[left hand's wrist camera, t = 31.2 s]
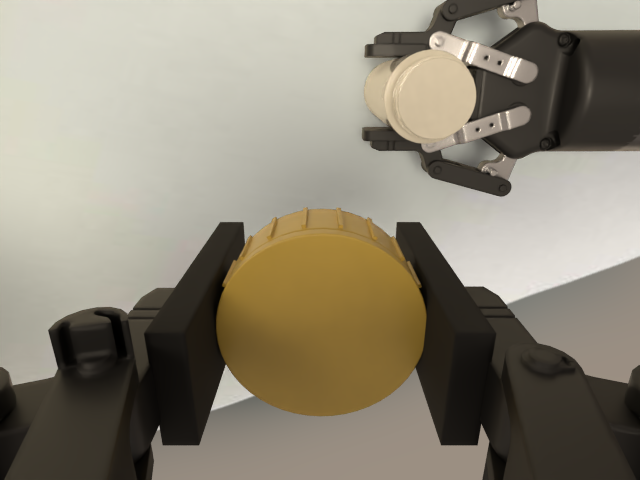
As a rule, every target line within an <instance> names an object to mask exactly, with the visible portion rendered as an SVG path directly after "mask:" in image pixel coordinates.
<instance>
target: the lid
mask: <svg viewBox="0 0 640 480" xmlns="http://www.w3.org/2000/svg"><path fill="white" fill-rule="evenodd" d="M222 286H223V287H225V288H224V290H223V292H222V295H221V298H220V301H219V304H218V308H217V315H216V334H217V341H218V345H219V348H220V351H221V354H222V357H223V359H224V361H225V363H226V365H227V366H228V368H229V370H230V371H231V373H232V374H233V375H234V377H235V378H236V379H237V380H238V381H239V382H240V384H241V385H243V386H244V387H245V388H246V389H247V390H248V391H249V392H250V393H252V394H253V395H255V396H256V397H258V398H259V399H261V400H262V401H264V402H266V403H268V404H270V405H272V406H274V407H277V408H279V409H282V410H285V411H289V412H292V413H297V414H302V415H309V416H334V415H341V414H347V413H351V412H355V411H358V410H361V409H364V408H366V407H369V406H371V405H373V404H375V403H377V402H379V401H381V400H382V399H384V398H385V397H387V396H389V395H390V394H391V393H393V392H394V391H395V390H396V389H397V388H399V387H400V386H401V385H402V384H403V383H404V381H405V380H406V379H407V378H408V377H409V376H410V374H411V373H412V371H413V370H414V369H415V367H416V365H417V363H418V361H419V359H420V358H421V355H422V352H423V347H424V337H425V327H426V316H427V311H426V307H425V303H424V299H423V296H422V294H421V292H420V289H419V288H421V287H422V286H421V283H420V281H419V279H418V277H417V275H416V273H415V271H414V269H413V267H412V265H411V263H410V261H408V262H406V259H405V257H404V255H403V253H402V251H401V249H400V247H399V245H398V243H397V241H396V239H395V237H394V236H393V237H390V236H389V235H388V234H386V233H385V232H384V231H383V230H382V229H381V228H379V227H378V226H376V225H375V224H373V222H372V220H371V219H370V218H367V220H366V219H364V218H362V217H360V216H357V215H354V214H351V213H349V212H344V211H341V208H337V209H336V210H331V209H310V210H308V208H307V207H306V208H303V211H299V212H295V213H292V214H289V215H286V216H283V217H281V218H279V219H277V218H276V217H275V218H273V219H272V222H271V223H270V224H268V225H267V226H265V227H264V228H262V229H261V230H260V231H259V232H258V233H256V234H255V235H254V236H253V237H252V236H251V235H250V236H249V237H248V239H247V242H246V244H245V246H244V248H243V250H242V252H241V254H240V256H239V258H238V260H237V261H235V260H234V261H233V263H232V265H231V267H230V269H229V271H228V273H227V276H226V278H225V280H224V282H223V284H222Z"/></svg>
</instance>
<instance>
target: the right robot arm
mask: <svg viewBox="0 0 640 480" xmlns="http://www.w3.org/2000/svg"><path fill="white" fill-rule="evenodd" d="M494 9H497V13H498V15H499V17H500V18H502V19H513V20H514V21H515V22H516V23H517V25H518V27H517V28H516V29H515V30H513V31H512V32H511V33H509V34H508V35H506V36H505V37H504V38H502V39H501V40H499V41H498V42H497V43H495V44H494V45H493V46H491V47H487V46H485V45H482V44H479V43H476V42H472V41H467V40H464V39H462V38H459V37H456V36H454V35H451V33H452V30H453V28H454V26H455V23H456V21H457V20H461V19H464V18H467V17H471V16H474V15H477V14H481V13H484V12H487V11H491V10H494ZM433 49H436V50H442V51H446V52H449V53H451V54H453V55H454V56H456V57H458V58H459V59H460V60H461V61H462V62H463V63H464V64H465V66H466V67H467V69H468V70H469V72H470V73H471V75H472V77H473V79H474V83H475V86H476V103H475V107H474V110H473V113H472V115H471V117H470V118H469V120H468V121H467V123H466V124H465V125H464V126H463V127H462V128H461V129H460V130H459V131H457V132H456V133H454V134H452V135H451V136H449V137H448V138H446V139H444V140H441V141H439V142H435V143H429V144H421V143H415V142H412V141H409V140H407V139H405V138H403V137H402V136H400V135H399V134H398V133H397V132H395V131H394V130H393V129H392V128H390V127H364V128H362V139H363V140H364V141H370V145H371V147H372V148H374V149H376V150H379V151H418V152H419V154H420V158H421V161H422V162H421V166H422V168H423V170H425V171H426V172H428V174H429V175H430V176H431V177H432V178H434V179H438V180H442V181H445V182H449V183H453V184H456V185H460V186H464V187H467V188H471V189H475V190H478V191H482V192H486V193H489V194H493V195H496V196H505V195H507V194H508V193H509V192H510V190H511V183H510V182H509V181H508V179H509V176H510V174H511V172H512V169H513V167H514V165H515V162H516V160H517V159H520V158H523V157H525V156H527V155H529V154H531V153H534V152H539V151H640V30H584V31H560V30H556V29H553V28H551V27H549V26H548V25H547V24H545V23H543V22H539V20H538V9H537V0H447V1H445V2H444V3H442V4H441V5H439V6H438V7H437V8H436V9H435V11H434V14H433V19H432V21H431V24H430V26H429V28H428V29H427V30H426V31H425V32H384V33H382V34H379V35H377V36H376V37H375V38H374V44H367V45H366V46H365V57H366V58H396V57H403V56H406V55H410V54H413V53H417V52H420V51H423V50H433ZM480 138H481V139H483V140H484V141H485V142H486V143H488V144H489V145H490V146H491V147H492V148H494V149H495V150H496V151H497V152H499V153H500V154H499V156H498V157H497V158H496V159H494V160H484V161H482V162H481V163H480V164H479V165H478V167H477V168H475V167H472V166H468V165H464V164H461V163H457V162H454V161H450V160H447V159H443V158H442V154H441V151H440V150H441V149H444V148H447V147H450V146H453V145H456V144H464V143H467V142H470V141H474V140H477V139H480Z"/></svg>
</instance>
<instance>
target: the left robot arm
mask: <svg viewBox="0 0 640 480" xmlns="http://www.w3.org/2000/svg"><path fill="white" fill-rule="evenodd" d="M396 241H397V243H398V245H399V247H400V249H401V251H402V253H403V255H404V257H405V259H406V262H408V261H410V263H411V265H412V267H413V269H414V271H415V273H416V275H417V277H418V279H419V281H420V283H421V286H422V287H421V288H419V289H420V292H421V294H422V296H423V299H424V303H425V307H426V311H427V316H426V327H425V337H424V347H423V352H422V355H421V358H420V359H419V361H418V363H417V365H416V370H417V373H418V376H419V379H420V382H421V385H422V388H423V392H424V394H425V398H426V401H427V404H428V407H429V410H430V413H431V416H432V419H433V422H434V425H435V428H436V431H437V434H438V437H439V440H440V443H441V445H478V439H479V433H480V428H481V424H482V426H483V428H484V430H485V432H486V434H487V437H488V439H489V447H488V452H487V458H486V463H485V469H484V474H483V480H640V365H639V366H637V367H636V368H635V369H633V370H632V373H631V376H630V380H629V383H628V384H627V383H622V382H617V381H612V380H607V379H601V378H596V377H592V376H588V375H585V374H584V372H583V370H582V368H581V367H580V365H579V364H578V363H577V362H576V360H575V359H573V358H572V357H570V356H569V355H567V354H566V353H564V352H563V351H560V350H558V349H555V348H553V347H551V346H547V345H542V344H538V343H537V342H536V341H535V340H534V338H533V337H532V336H531V335H530V333H529V332H528V331H527V330H526V329H525V327H524V326H523V325H522V324H521V322H520V321H519V320H518V319H517V318H515V315H514V314H513V313H512V312H511V310H510V309H508V308H507V305H506V304H505V303H504V302H503V301H502V299H501V298H500V297H499V296H498V295H496V294H495V293H493V292H491V291H490V290H488V289H486V288H485V287H464V285H463V284H462V283H461V281H460V280H459V278H458V277H457V275H456V274H455V272H454V271H453V270H452V268H451V267H450V265H449V264H448V262H447V261H446V259H445V258H444V256H443V255H442V254H441V252H440V251H439V249H438V248H437V246H436V245H435V243H434V242H433V241H432V239H431V238H430V236H429V235H428V233H427V232H426V230H425V229H424V228H423V226H422V225H421V223H420V222H397V228H396ZM244 246H245V239H244V224H243V222H220V224H219V225H218V226H217V228H216V229H215V231H214V232H213V234H212V235H211V237H210V238H209V240H208V241H207V242H206V244H205V245H204V247H203V248H202V250H201V251H200V253H199V254H198V255H197V257H196V258H195V260H194V261H193V263H192V264H191V266H190V267H189V268H188V270H187V271H186V273H185V274H184V276H183V277H182V279H181V280H180V282H179V283H178V284H177V286H176V287H175V288H156V289H155V290H153V291H151V292H150V293H148V294H146V295H145V296H143V297H142V298H141V299H140V300H139V301H138V303H137V304H136V305H135V306H134V308H133V310H131V311H130V312H129V314H128V315H127V313H125V312H124V311H123V310H121V309H117V308H113V307H97V308H92V309H86V310H82V311H79V312H76V313H73V314H71V315H68V316H66V317H64V318H63V319H61V320H59V321H57V322H56V323H55V324H54V325H53V326H52V327H51V328H50V329H49V330H48V331H49V335H50V339H51V343H52V347H53V350H54V354H55V358H56V362H57V366H58V370H57V372H56V374H55V376H54V377H52V378H48V379H43V380H38V381H33V382H28V383H23V384H18V385H12V382H11V379H10V375H9V372H8V371H6V370H5V369H4V368H2V367H0V480H152V472H153V464H154V459H153V452H152V447H151V442H152V439H153V437H154V435H155V433H156V431H157V429H158V426H160V432H161V438H162V443H163V445H199V444H200V441H201V438H202V435H203V432H204V429H205V426H206V423H207V420H208V417H209V414H210V411H211V407H212V404H213V401H214V398H215V395H216V392H217V389H218V386H219V383H220V380H221V377H222V374H223V371H224V368H225V365H226V363H225V361H224V359H223V357H222V354H221V351H220V348H219V345H218V341H217V334H216V315H217V308H218V304H219V301H220V298H221V295H222V292H223V290H224V288H225V287H223V286H222V284H223V282H224V280H225V278H226V276H227V273H228V271H229V269H230V267H231V265H232V263H233V261H234V260H235V261H237V260H238V258H239V256H240V254H241V252H242V250H243V248H244Z"/></svg>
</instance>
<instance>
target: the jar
mask: <svg viewBox="0 0 640 480" xmlns="http://www.w3.org/2000/svg"><path fill="white" fill-rule="evenodd" d="M364 98H365V102H366V105H367V107H368V108H369V110H370V111H371V112H372V113H373V114H374V115H375V116H376V117H378V118H379V119H380V120H381V121H383V122H384V123H385V124H386V125H388V126H389V127H390V128H392V129H393V130H394V131H395V132H397V133H398V134H399V135H400V136H402V137H403V138H405V139H407V140H409V141H412V142H415V143H421V144H429V143H435V142H439V141H441V140H444V139H446V138H448V137H449V136H451V135H452V134H454V133H456V132H457V131H459V130H460V129H461V128H462V127H463V126H464V125H465V124H466V123H467V121H468V120H469V118H470V117H471V115H472V113H473V110H474V107H475V103H476V86H475V83H474V79H473V77H472V75H471V73H470V72H469V70H468V69H467V67H466V66H465V64H464V63H463V62H462V61H461V60H460V59H459V58H458V57H456V56H454V55H453V54H451V53H449V52H446V51H442V50H436V49H433V50H423V51H420V52H417V53H413V54H410V55H406V56H403V57H400V58H396V59H393V60H390V61H386V62H383V63H381V64H380V65H378V66H377V67H375V68H374V69H373V70H372V71H371V73H370V74H369V76H368V78H367V80H366V82H365V87H364Z"/></svg>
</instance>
